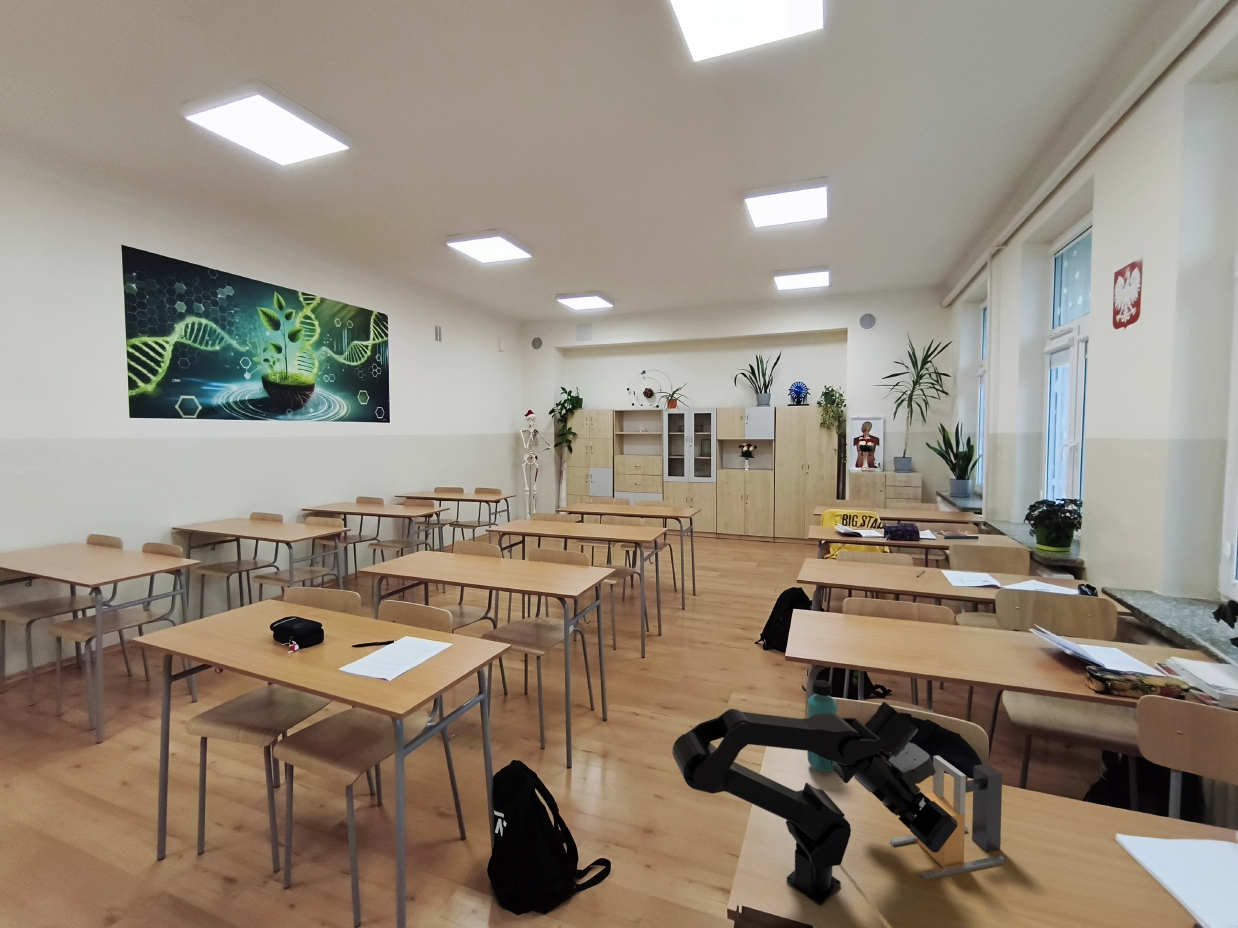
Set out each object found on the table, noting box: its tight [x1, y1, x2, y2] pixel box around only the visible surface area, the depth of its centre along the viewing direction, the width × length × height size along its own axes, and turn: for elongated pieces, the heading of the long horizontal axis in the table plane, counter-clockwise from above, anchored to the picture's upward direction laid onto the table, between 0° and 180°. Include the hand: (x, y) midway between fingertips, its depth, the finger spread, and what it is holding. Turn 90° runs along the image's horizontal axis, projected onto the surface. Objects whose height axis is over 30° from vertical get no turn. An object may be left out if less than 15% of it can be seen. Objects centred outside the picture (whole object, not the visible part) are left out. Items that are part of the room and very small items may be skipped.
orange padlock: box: [917, 755, 967, 867], centre depth 96 cm, size 4×6×16 cm, turn 12°
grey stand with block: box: [889, 763, 1006, 880], centre depth 96 cm, size 18×10×15 cm, turn 102°
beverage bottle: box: [806, 679, 838, 772], centre depth 122 cm, size 6×7×20 cm
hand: (929, 824), depth 95 cm, fingers closed, pressing on orange padlock
